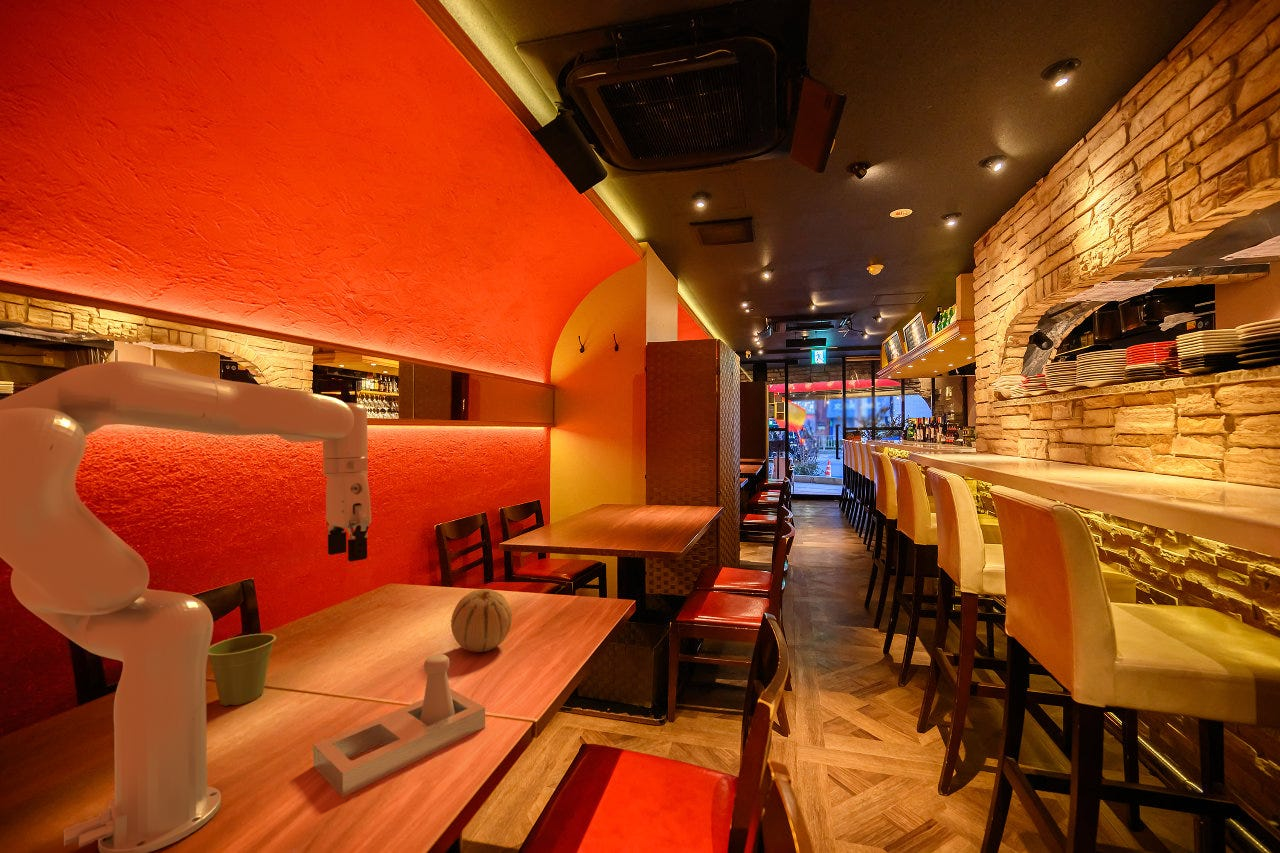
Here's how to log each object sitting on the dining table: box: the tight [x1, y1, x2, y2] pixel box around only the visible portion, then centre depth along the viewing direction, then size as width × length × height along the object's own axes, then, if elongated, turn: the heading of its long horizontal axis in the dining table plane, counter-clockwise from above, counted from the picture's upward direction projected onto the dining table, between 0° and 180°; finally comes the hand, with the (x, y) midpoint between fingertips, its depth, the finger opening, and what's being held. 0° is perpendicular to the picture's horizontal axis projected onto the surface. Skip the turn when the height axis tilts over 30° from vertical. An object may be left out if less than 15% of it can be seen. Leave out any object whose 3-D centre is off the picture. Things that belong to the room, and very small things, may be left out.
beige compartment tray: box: [312, 688, 486, 798], centre depth 91 cm, size 24×12×4 cm, turn 139°
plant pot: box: [208, 633, 277, 707], centre depth 110 cm, size 12×12×11 cm
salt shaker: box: [420, 653, 455, 726], centre depth 96 cm, size 6×6×13 cm
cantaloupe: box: [450, 588, 513, 653], centre depth 133 cm, size 15×15×15 cm
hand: (347, 556), depth 102 cm, fingers open, 9 cm apart
